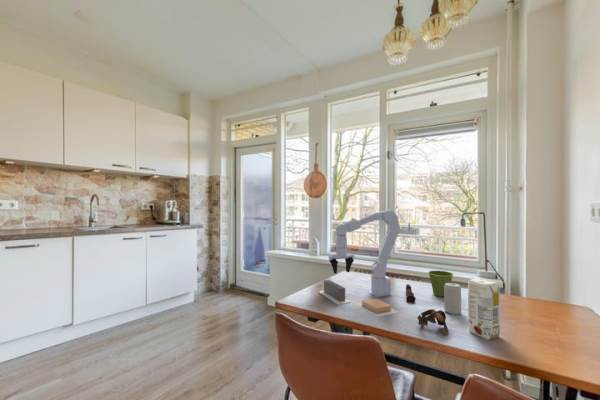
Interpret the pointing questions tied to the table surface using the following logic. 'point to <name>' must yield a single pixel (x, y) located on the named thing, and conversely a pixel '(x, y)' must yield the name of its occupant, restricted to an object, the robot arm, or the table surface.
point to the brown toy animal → (431, 317)
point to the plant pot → (439, 281)
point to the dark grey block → (334, 290)
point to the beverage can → (452, 298)
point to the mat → (378, 312)
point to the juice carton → (484, 308)
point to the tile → (376, 305)
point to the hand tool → (410, 294)
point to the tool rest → (334, 298)
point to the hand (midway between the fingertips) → (341, 272)
